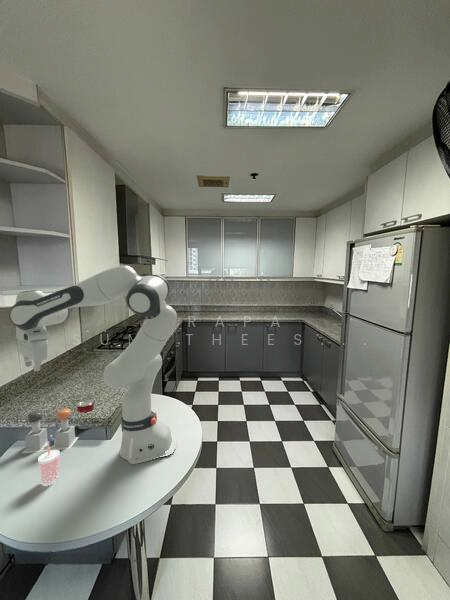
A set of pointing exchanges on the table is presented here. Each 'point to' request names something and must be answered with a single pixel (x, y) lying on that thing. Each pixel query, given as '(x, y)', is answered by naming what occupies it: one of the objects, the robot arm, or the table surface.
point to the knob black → (35, 421)
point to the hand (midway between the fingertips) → (32, 368)
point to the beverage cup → (49, 466)
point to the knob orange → (64, 418)
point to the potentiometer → (51, 441)
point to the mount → (40, 440)
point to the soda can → (85, 406)
